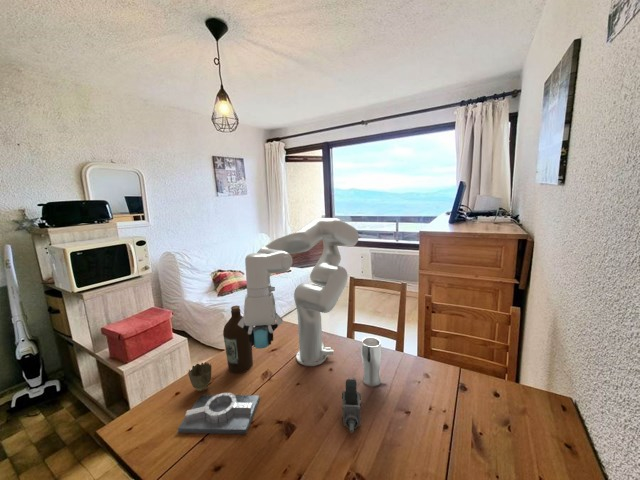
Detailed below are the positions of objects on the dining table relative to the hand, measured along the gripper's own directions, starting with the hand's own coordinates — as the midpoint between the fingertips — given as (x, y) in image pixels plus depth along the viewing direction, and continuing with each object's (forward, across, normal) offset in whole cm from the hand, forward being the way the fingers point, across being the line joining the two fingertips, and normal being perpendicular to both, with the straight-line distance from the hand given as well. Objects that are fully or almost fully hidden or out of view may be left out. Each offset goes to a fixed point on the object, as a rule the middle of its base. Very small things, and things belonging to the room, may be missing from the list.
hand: (261, 342), depth 88 cm
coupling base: (+18, +12, +9) cm, 23 cm away
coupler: (+1, 0, 0) cm, 1 cm away
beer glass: (+17, -38, 0) cm, 42 cm away
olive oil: (+18, +12, -16) cm, 26 cm away
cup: (+18, +22, -4) cm, 29 cm away
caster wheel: (+18, -28, +14) cm, 36 cm away
